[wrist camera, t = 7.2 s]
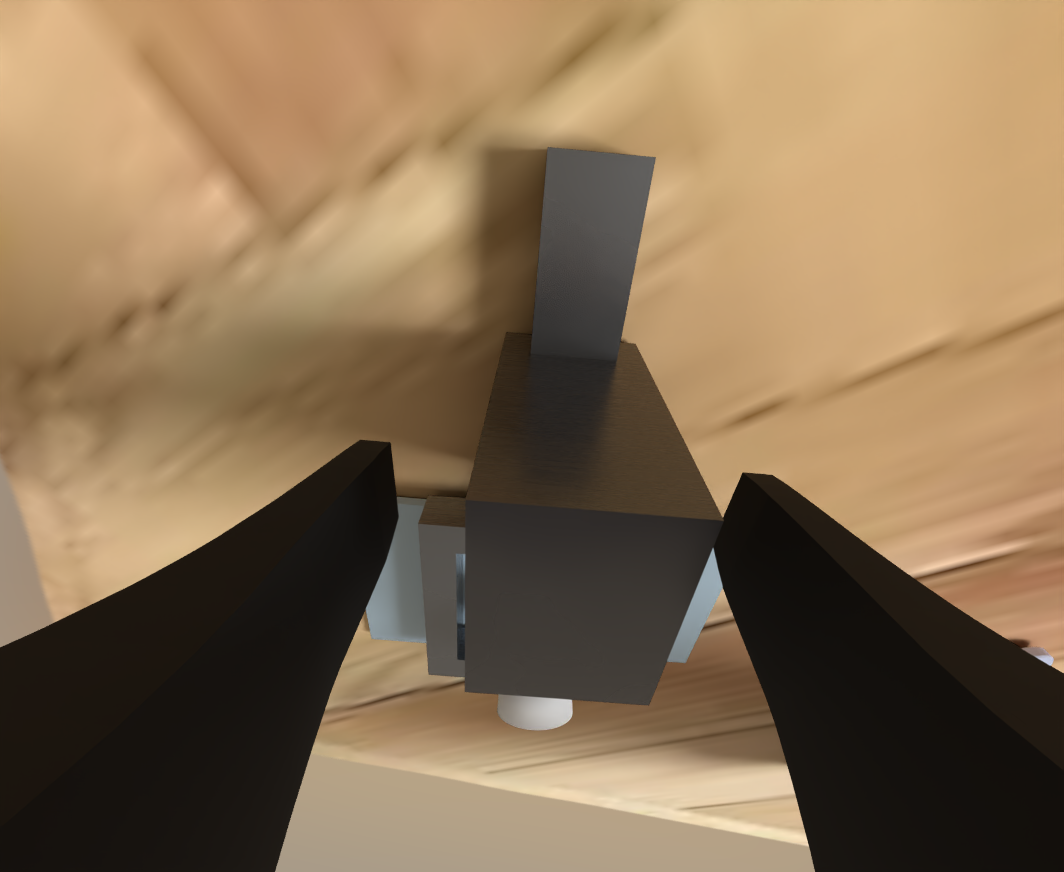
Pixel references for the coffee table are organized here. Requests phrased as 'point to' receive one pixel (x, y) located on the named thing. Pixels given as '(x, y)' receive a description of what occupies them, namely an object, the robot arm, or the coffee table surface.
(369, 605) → the keeper
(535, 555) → the grey block with tab
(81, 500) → the coffee table surface
